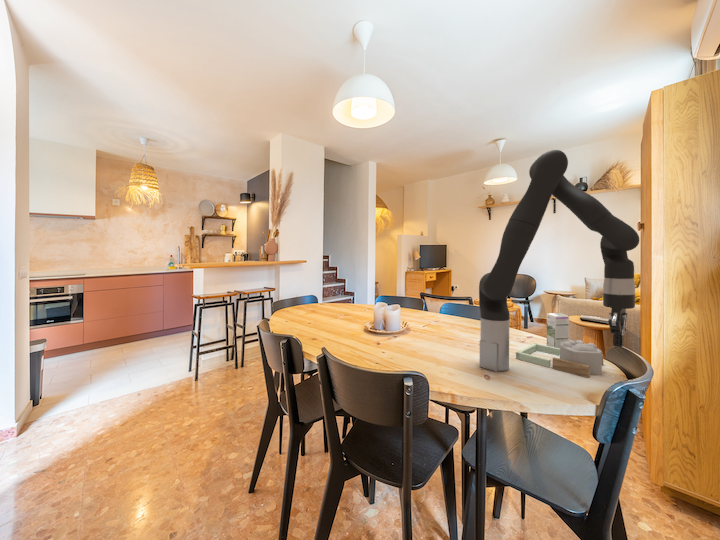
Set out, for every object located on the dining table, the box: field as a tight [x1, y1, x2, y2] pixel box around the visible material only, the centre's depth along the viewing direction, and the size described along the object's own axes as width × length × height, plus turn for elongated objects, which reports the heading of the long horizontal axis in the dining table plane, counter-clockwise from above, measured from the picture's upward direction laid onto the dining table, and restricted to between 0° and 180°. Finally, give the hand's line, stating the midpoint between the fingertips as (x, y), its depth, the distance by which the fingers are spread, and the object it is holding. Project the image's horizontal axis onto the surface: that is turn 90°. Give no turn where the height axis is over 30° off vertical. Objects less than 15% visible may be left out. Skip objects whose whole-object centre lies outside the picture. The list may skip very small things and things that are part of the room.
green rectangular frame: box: [515, 343, 560, 368], centre depth 109 cm, size 17×11×2 cm, turn 127°
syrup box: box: [546, 312, 570, 349], centre depth 119 cm, size 6×6×14 cm
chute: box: [551, 353, 604, 378], centre depth 100 cm, size 17×10×4 cm, turn 127°
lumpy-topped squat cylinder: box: [559, 339, 603, 376], centre depth 100 cm, size 10×13×9 cm
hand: (618, 346), depth 92 cm, fingers closed
